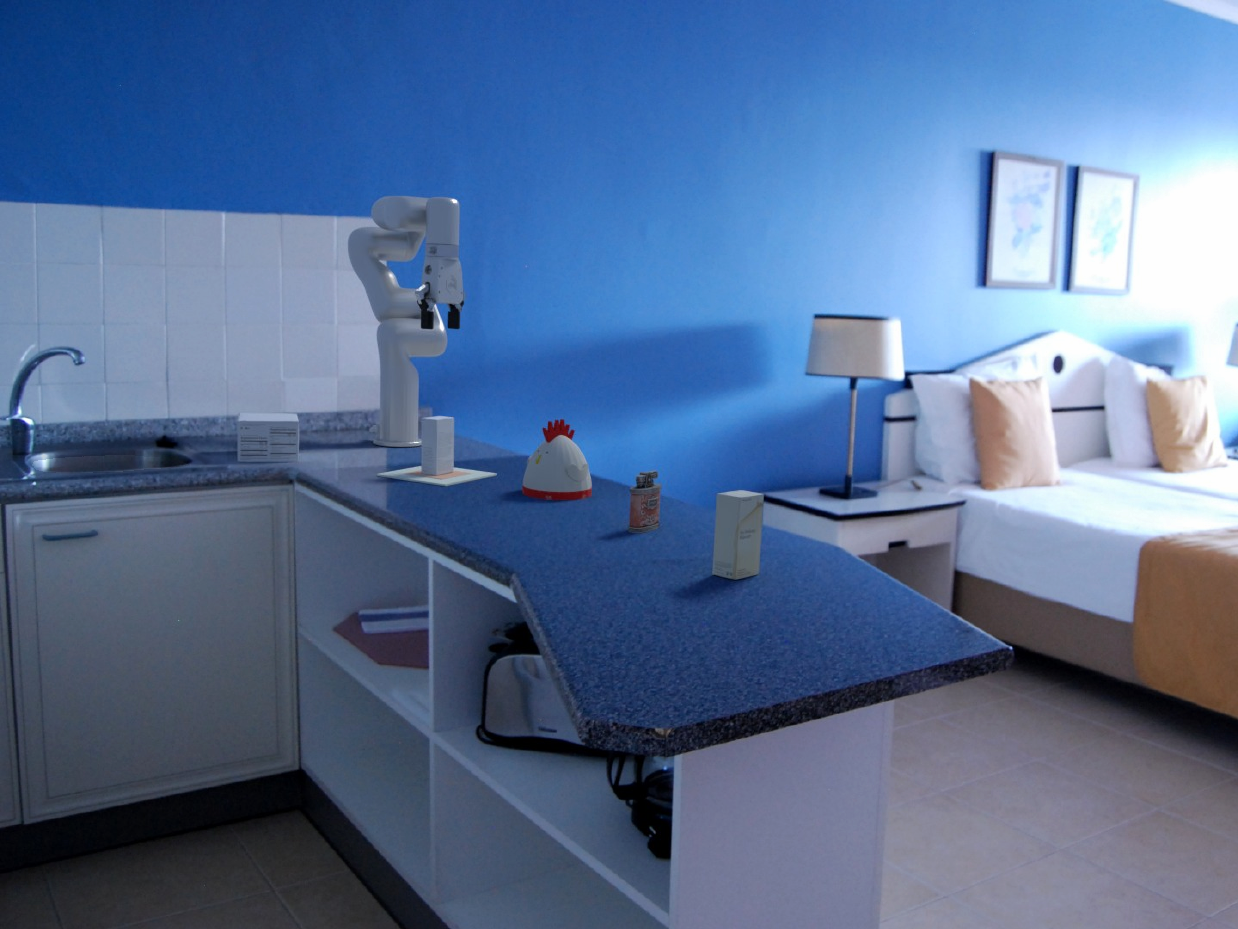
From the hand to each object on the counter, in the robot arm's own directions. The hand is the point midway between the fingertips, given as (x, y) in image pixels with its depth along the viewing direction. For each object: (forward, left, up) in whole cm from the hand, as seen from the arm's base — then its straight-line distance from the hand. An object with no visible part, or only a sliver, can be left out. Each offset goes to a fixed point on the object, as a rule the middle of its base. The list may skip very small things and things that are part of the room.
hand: (440, 328), depth 246 cm
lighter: (+73, -36, -31) cm, 87 cm away
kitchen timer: (+44, -18, -31) cm, 57 cm away
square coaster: (+14, -18, -30) cm, 38 cm away
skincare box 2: (+98, -55, -31) cm, 116 cm away
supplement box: (-30, -24, -31) cm, 49 cm away
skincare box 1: (+14, -18, -30) cm, 38 cm away
